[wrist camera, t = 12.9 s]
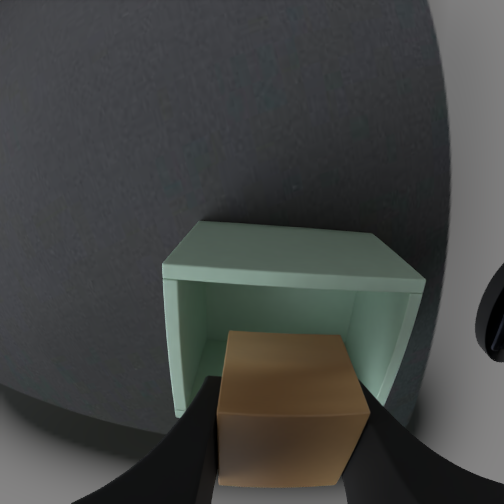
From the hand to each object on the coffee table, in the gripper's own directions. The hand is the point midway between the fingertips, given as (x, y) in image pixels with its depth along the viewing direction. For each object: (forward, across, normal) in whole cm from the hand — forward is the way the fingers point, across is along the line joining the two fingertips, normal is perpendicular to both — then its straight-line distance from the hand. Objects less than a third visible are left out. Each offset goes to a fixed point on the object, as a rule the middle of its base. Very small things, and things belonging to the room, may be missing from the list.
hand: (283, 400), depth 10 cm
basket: (+9, -1, +1) cm, 9 cm away
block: (+1, 0, 0) cm, 1 cm away
